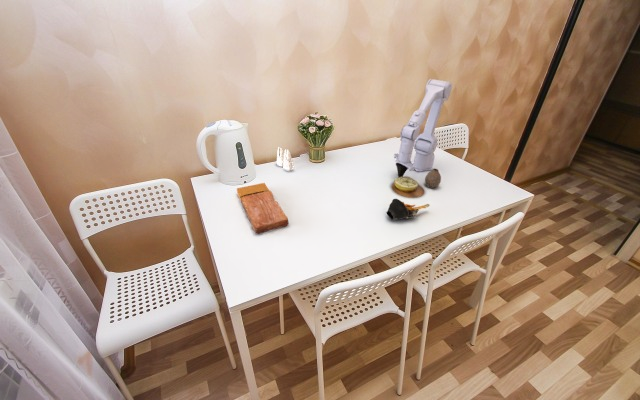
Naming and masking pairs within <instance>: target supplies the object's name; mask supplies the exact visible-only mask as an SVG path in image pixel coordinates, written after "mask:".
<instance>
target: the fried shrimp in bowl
mask: <svg viewBox="0 0 640 400" xmlns="http://www.w3.org/2000/svg"><path fill="white" fill-rule="evenodd" d="M429 207H430V203H426V204H424V205H420V206H416V204H408V203H405V201H401V200H400V199H398V198H393V199H392V200H391V202H390V204H389V206H388V209H387V211H386V216H387V217H388V218H389V219H390V220H391V221H393V220H402V219H411V218H414V216H415V215H417V214H418V212H419V211H420V210H422V209H427V208H429Z"/></svg>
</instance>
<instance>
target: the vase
mask: <svg viewBox="0 0 640 400" xmlns="http://www.w3.org/2000/svg"><path fill="white" fill-rule="evenodd" d="M441 181H442V176H441V174H440V171H439V169H438V168H432V170H429V172H427V174H426V175H425V179H424V183H425V185H426V187H427V188H429V189H435V188H437V187H439V185H440V184H441Z"/></svg>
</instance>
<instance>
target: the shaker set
mask: <svg viewBox="0 0 640 400" xmlns="http://www.w3.org/2000/svg"><path fill="white" fill-rule="evenodd" d="M276 166H278V167H282V168H283V169H284V170H285V171H286V172H292V171H293V170H294V169H295V168H296V167H295V164H294V160H293V158H292V155H291V152H290V149H287V148H286V149H284V150H283V148H282V147H280V146H278V147H277V153H276Z"/></svg>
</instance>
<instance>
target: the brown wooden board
mask: <svg viewBox="0 0 640 400" xmlns="http://www.w3.org/2000/svg"><path fill="white" fill-rule="evenodd" d="M236 193H237V197H238V198H239V200H240V202H241V205H242V207H243V210H244V211H245V214H246V217H247V219H248V221H249V222H250V224H251V227H252V228H253V231H254V233H255V234H257V235H260V234H262V233H265V232H268V231H273V230H277V229H280V228H285V227H287V226H289V218H288V216H287V215H286V213H285V212H284V210H283V209H282V207H281V206H280V204H279V202H278V201H277V200H275V196H274V193H273V192H272V191H271V190H269V187H268V186H267V184H266V183H265V182H262V183H261V182H260V183H257V184H252V185H248V186H242V187H237V188H236Z"/></svg>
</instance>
